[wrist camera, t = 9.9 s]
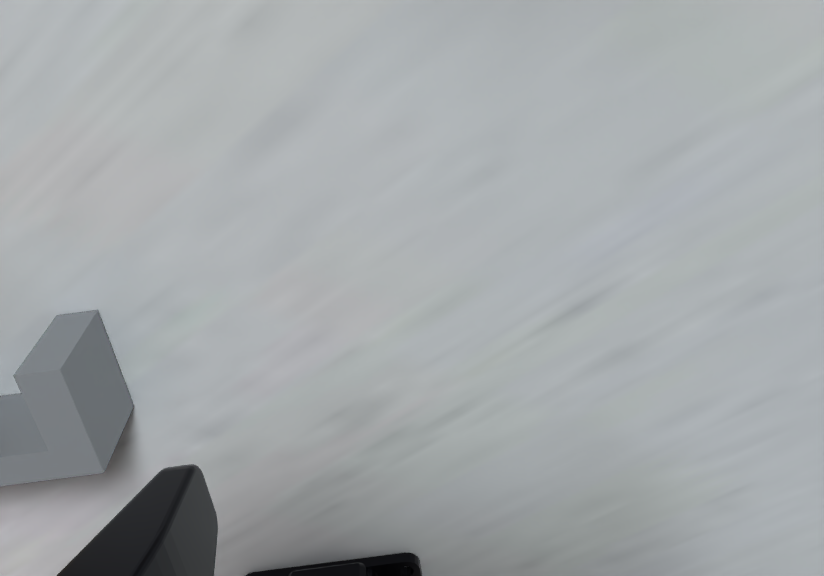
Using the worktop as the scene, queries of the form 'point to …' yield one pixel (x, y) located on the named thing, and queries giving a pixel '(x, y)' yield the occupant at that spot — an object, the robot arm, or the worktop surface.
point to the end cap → (64, 405)
